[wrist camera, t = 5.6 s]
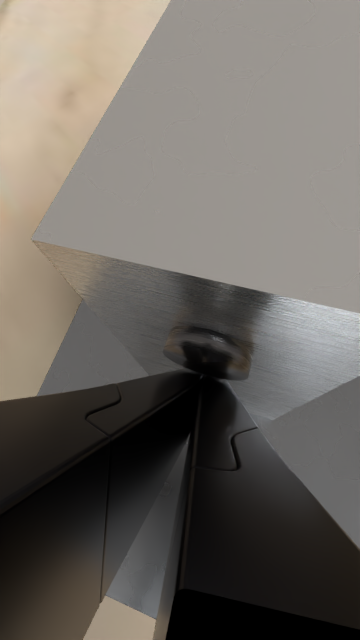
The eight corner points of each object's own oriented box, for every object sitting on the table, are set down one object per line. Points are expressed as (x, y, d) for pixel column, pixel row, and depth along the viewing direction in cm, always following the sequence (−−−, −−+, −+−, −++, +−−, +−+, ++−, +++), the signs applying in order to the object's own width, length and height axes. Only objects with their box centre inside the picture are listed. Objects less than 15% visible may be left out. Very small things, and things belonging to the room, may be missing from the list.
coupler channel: (384, 712, 11) (464, 837, 8) (-13, 526, 15) (-86, 550, 12) (417, 147, 22) (459, 85, 18) (175, 119, 25) (169, 63, 22)
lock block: (270, 430, 15) (443, 371, 4) (152, 393, 16) (15, 264, 5) (319, 187, 20) (450, -137, 9) (228, 173, 21) (245, -126, 10)
